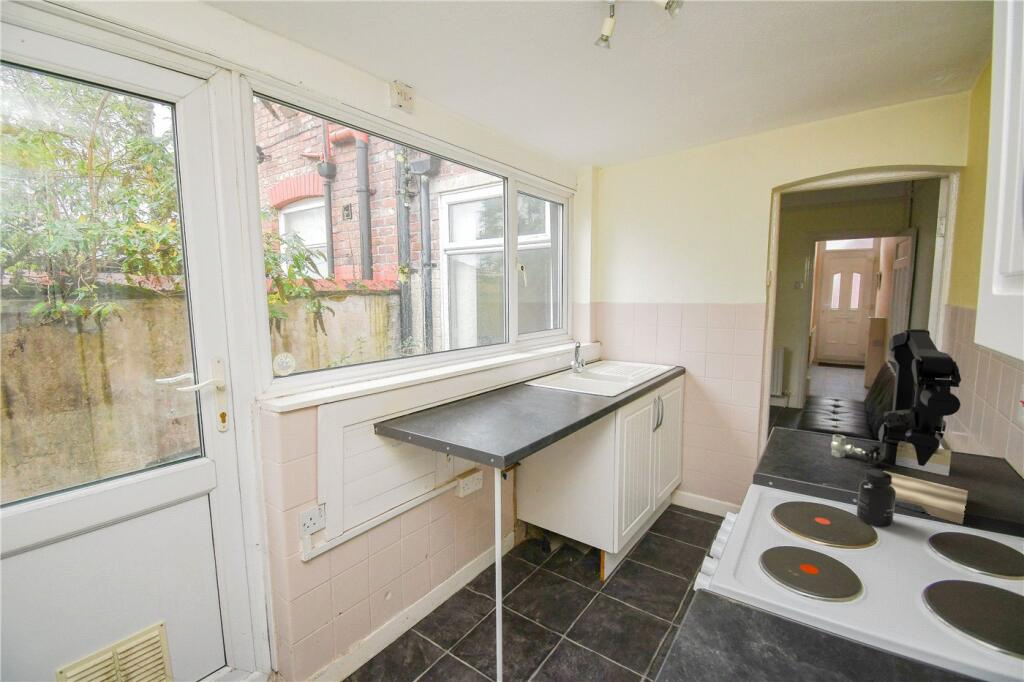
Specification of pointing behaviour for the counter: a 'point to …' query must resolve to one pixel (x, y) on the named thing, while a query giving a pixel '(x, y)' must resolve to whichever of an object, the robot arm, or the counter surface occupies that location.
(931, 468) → the housing
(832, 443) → the valve
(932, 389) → the robot arm
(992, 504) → the counter surface
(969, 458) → the counter surface
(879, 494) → the supplement bottle
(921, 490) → the crown molding piece
